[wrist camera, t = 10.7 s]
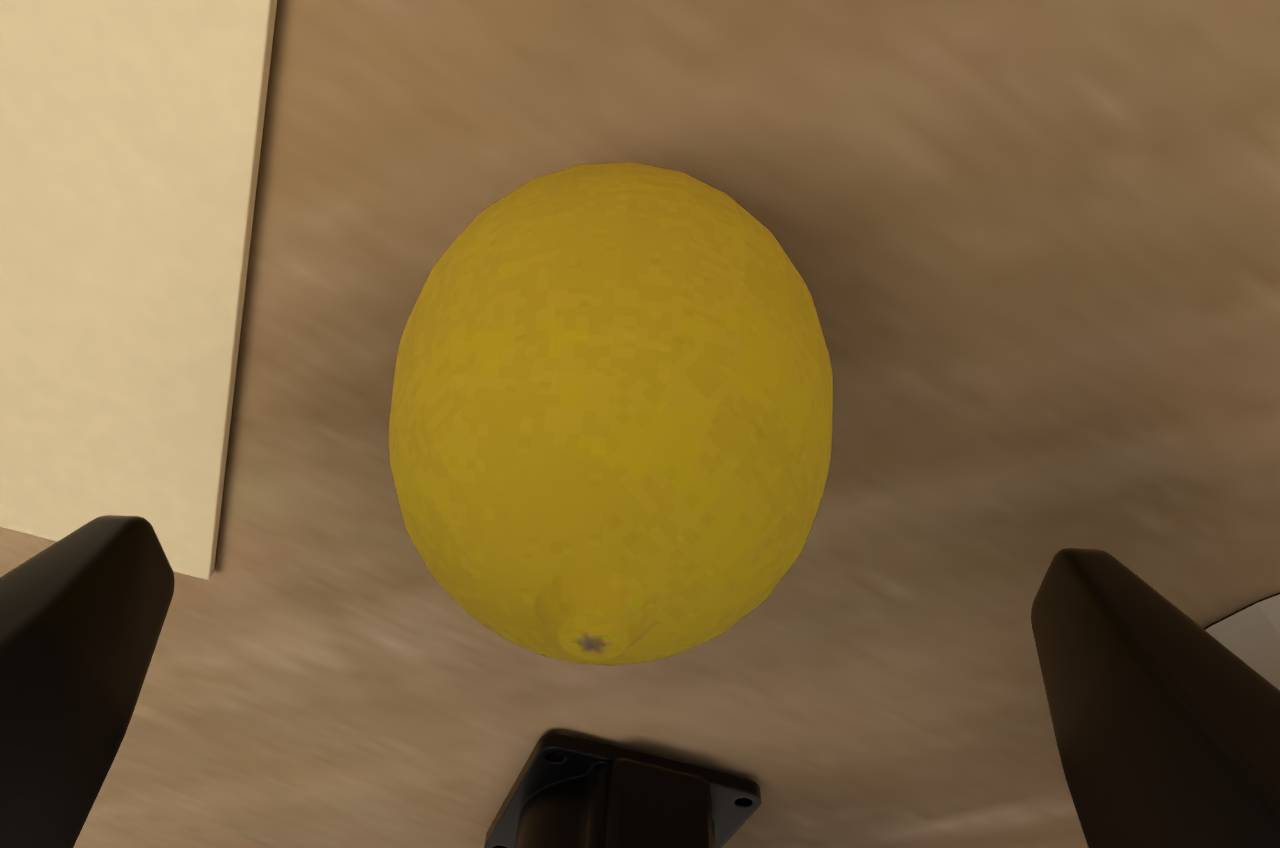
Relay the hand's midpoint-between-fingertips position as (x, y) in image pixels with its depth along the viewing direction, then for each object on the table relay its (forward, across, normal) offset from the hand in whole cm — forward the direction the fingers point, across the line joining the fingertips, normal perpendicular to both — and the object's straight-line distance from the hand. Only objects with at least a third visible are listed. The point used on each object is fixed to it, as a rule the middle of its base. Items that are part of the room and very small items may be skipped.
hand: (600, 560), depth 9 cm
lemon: (+7, 0, 0) cm, 7 cm away
